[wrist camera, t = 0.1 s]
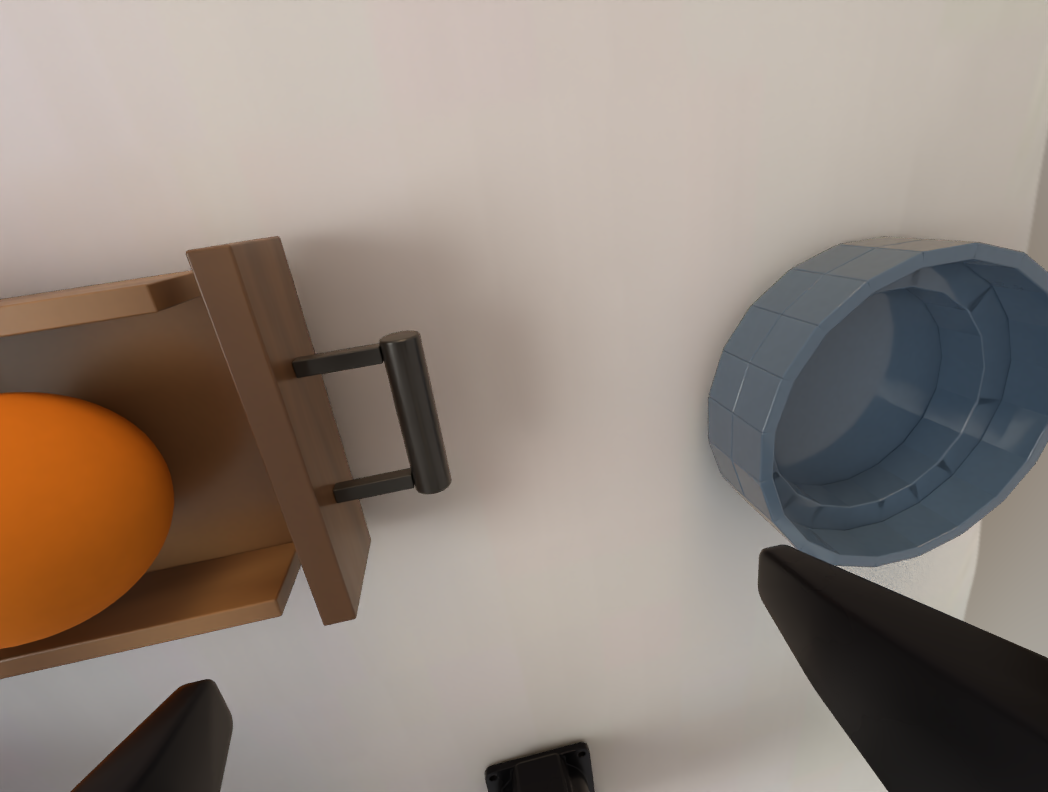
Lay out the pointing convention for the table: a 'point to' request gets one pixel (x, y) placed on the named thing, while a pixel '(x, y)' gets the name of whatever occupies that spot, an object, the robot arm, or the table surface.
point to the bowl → (885, 395)
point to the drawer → (221, 440)
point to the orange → (73, 512)
